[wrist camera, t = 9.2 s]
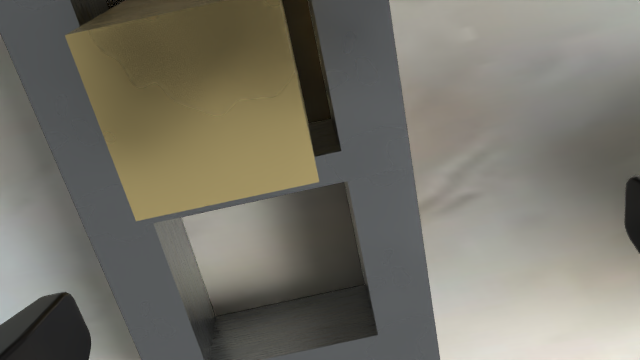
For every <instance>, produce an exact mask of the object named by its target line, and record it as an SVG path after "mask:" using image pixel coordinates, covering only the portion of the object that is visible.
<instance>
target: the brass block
mask: <svg viewBox="0 0 640 360" xmlns="http://www.w3.org/2000/svg"><path fill="white" fill-rule="evenodd" d="M65 37H66V40H67V43H68V45H69V48H70V50H71V53H72V56H73V58H74V61H75V63H76V66H77V69H78V71H79V74H80V76H81V79H82V82H83V84H84V87H85V89H86V92H87V95H88V97H89V100H90V102H91V105H92V108H93V110H94V113H95V116H96V118H97V121H98V123H99V126H100V129H101V131H102V134H103V136H104V139H105V142H106V144H107V147H108V149H109V152H110V155H111V157H112V160H113V162H114V165H115V168H116V170H117V173H118V175H119V178H120V181H121V183H122V186H123V189H124V191H125V194H126V196H127V199H128V202H129V204H130V207H131V209H132V212H133V215H134V217H135V220H136V221H139V220H144V219H149V218H153V217H158V216H163V215H167V214H172V213H177V212H181V211H186V210H191V209H196V208H200V207H205V206H210V205H214V204H219V203H224V202H228V201H233V200H238V199H242V198H247V197H252V196H256V195H261V194H266V193H270V192H275V191H280V190H284V189H289V188H294V187H298V186H303V185H308V184H312V183H317V182H319V177H318V172H317V167H316V161H315V156H314V151H313V145H312V140H311V135H310V130H309V124H308V119H307V114H306V108H305V103H304V98H303V94H302V89H301V84H300V80H299V75H298V71H297V66H296V61H295V57H294V52H293V48H292V43H291V38H290V34H289V29H288V25H287V20H286V16H285V11H284V6H283V2H282V0H125V1H123V2H121V3H120V4H118V5H116V6H114V7H113V8H111V9H109V10H107V11H106V12H104V13H102V14H101V15H99V16H97V17H95V18H94V19H92V20H90V21H88V22H87V23H85V24H83V25H82V26H80V27H78V28H76V29H75V30H73V31H71V32H70V33H68V34H66V35H65Z"/></svg>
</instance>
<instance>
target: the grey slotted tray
mask: <svg viewBox="0 0 640 360" xmlns="http://www.w3.org/2000/svg"><path fill="white" fill-rule="evenodd" d="M308 5H309V10H310V15H311V20H312V25H313V30H314V35H315V40H316V45H317V49H318V54H319V59H320V64H321V69H322V74H323V79H324V84H325V89H326V94H327V99H328V104H329V109H330V114H331V119H327V120H323V121H318V122H313V123H309V130H310V135H311V140H312V145H313V151H314V156H315V161H316V167H317V172H318V177H319V182H317V183H312V184H308V185H303V186H298V187H294V188H289V189H284V190H280V191H275V192H270V193H266V194H261V195H256V196H252V197H247V198H242V199H238V200H233V201H228V202H224V203H219V204H214V205H210V206H205V207H200V208H196V209H191V210H186V211H181V212H177V213H172V214H167V215H163V216H158V217H153V218H149V219H144V220H139V221H136V220H135V217H134V215H133V212H132V209H131V207H130V204H129V202H128V199H127V196H126V194H125V191H124V189H123V186H122V183H121V181H120V178H119V175H118V173H117V170H116V168H115V165H114V162H113V160H112V157H111V155H110V152H109V149H108V147H107V144H106V142H105V139H104V136H103V134H102V131H101V129H100V126H99V123H98V121H97V118H96V116H95V113H94V110H93V108H92V105H91V102H90V100H89V97H88V95H87V92H86V89H85V87H84V84H83V82H82V79H81V76H80V74H79V71H78V69H77V66H76V63H75V61H74V58H73V56H72V53H71V50H70V48H69V45H68V43H67V40H66V37H65V35H66V34H68V33H70V32H71V31H73V30H75V29H76V28H78V27H80V26H82V25H83V24H85V23H87V22H88V21H90V20H92V19H94V18H95V17H97V16H99V15H101V14H102V13H104V12H106V11H107V10H109V8H108V5H107V2H106V0H0V33H1V36H2V38H3V40H4V43H5V45H6V47H7V50H8V52H9V54H10V57H11V59H12V61H13V64H14V66H15V68H16V70H17V73H18V75H19V77H20V80H21V82H22V84H23V87H24V89H25V91H26V94H27V96H28V98H29V101H30V103H31V105H32V107H33V110H34V112H35V114H36V117H37V119H38V121H39V124H40V126H41V128H42V131H43V133H44V135H45V137H46V140H47V142H48V144H49V147H50V149H51V151H52V154H53V156H54V158H55V161H56V163H57V165H58V168H59V170H60V172H61V174H62V177H63V179H64V181H65V184H66V186H67V188H68V191H69V193H70V195H71V198H72V200H73V202H74V205H75V207H76V209H77V211H78V214H79V216H80V218H81V221H82V223H83V225H84V228H85V230H86V232H87V235H88V237H89V239H90V241H91V244H92V246H93V248H94V251H95V253H96V255H97V258H98V260H99V262H100V265H101V267H102V269H103V272H104V274H105V276H106V278H107V281H108V283H109V285H110V288H111V290H112V292H113V295H114V297H115V299H116V302H117V304H118V306H119V309H120V311H121V313H122V315H123V318H124V320H125V322H126V325H127V327H128V329H129V332H130V334H131V336H132V339H133V341H134V343H135V345H136V348H137V350H138V352H139V355H140V357H141V359H142V360H440V355H439V348H438V341H437V334H436V327H435V320H434V313H433V306H432V299H431V292H430V285H429V278H428V271H427V264H426V257H425V250H424V243H423V236H422V229H421V222H420V215H419V208H418V201H417V194H416V187H415V180H414V173H413V166H412V159H411V152H410V145H409V138H408V131H407V124H406V117H405V110H404V103H403V96H402V89H401V82H400V75H399V68H398V61H397V54H396V47H395V40H394V33H393V26H392V19H391V12H390V5H389V0H308ZM341 182H344V184H345V189H346V193H347V198H348V203H349V208H350V213H351V218H352V223H353V228H354V233H355V238H356V243H357V248H358V253H359V258H360V263H361V268H362V273H363V278H364V283H365V285H361V286H357V287H352V288H347V289H343V290H338V291H333V292H329V293H324V294H319V295H315V296H310V297H305V298H301V299H296V300H291V301H287V302H282V303H277V304H273V305H268V306H264V307H259V308H254V309H250V310H245V311H240V312H236V313H231V314H226V315H222V316H217V317H215V314H214V311H213V308H212V305H211V302H210V299H209V297H208V294H207V291H206V288H205V285H204V282H203V279H202V276H201V274H200V271H199V268H198V265H197V262H196V259H195V256H194V253H193V250H192V248H191V245H190V242H189V239H188V236H187V233H186V230H185V227H184V224H183V222H182V219H181V217H184V216H189V215H194V214H198V213H203V212H208V211H212V210H217V209H221V208H226V207H231V206H235V205H240V204H245V203H249V202H254V201H258V200H263V199H268V198H272V197H277V196H281V195H286V194H291V193H295V192H300V191H305V190H309V189H314V188H318V187H323V186H328V185H332V184H337V183H341Z"/></svg>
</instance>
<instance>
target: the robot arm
mask: <svg viewBox="0 0 640 360" xmlns="http://www.w3.org/2000/svg"><path fill="white" fill-rule="evenodd" d="M625 229H626V232H627V234H628V237H629V238H630V240H631V241H632V243H633V244H634V246H635V247H636V249H637V250H638V252H639V253H640V174H639V175H634V176H632V177H630V178H629V179H628V181H627V183H626V192H625ZM90 349H91V337H90V333H89V330H88V328H87V326H86V324H85V321H84V319H83V317H82V315H81V313H80V311H79V308H78V306H77V304H76V302H75V300H74V298H73V297H72V296H71V295H70V294H69V293H66V292H62V293H57V294H52V295H47V296H43V297H41V298H39V299H38V300H36V301H35V302H33V303H32V304H30V305H29V306H27V307H26V308H25V309H23V310H22V311H20V312H19V313H17V314H16V315H14V316H13V317H11V318H10V319H9V320H7V321H6V322H4V323H3V324H1V325H0V360H89V355H90Z"/></svg>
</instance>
